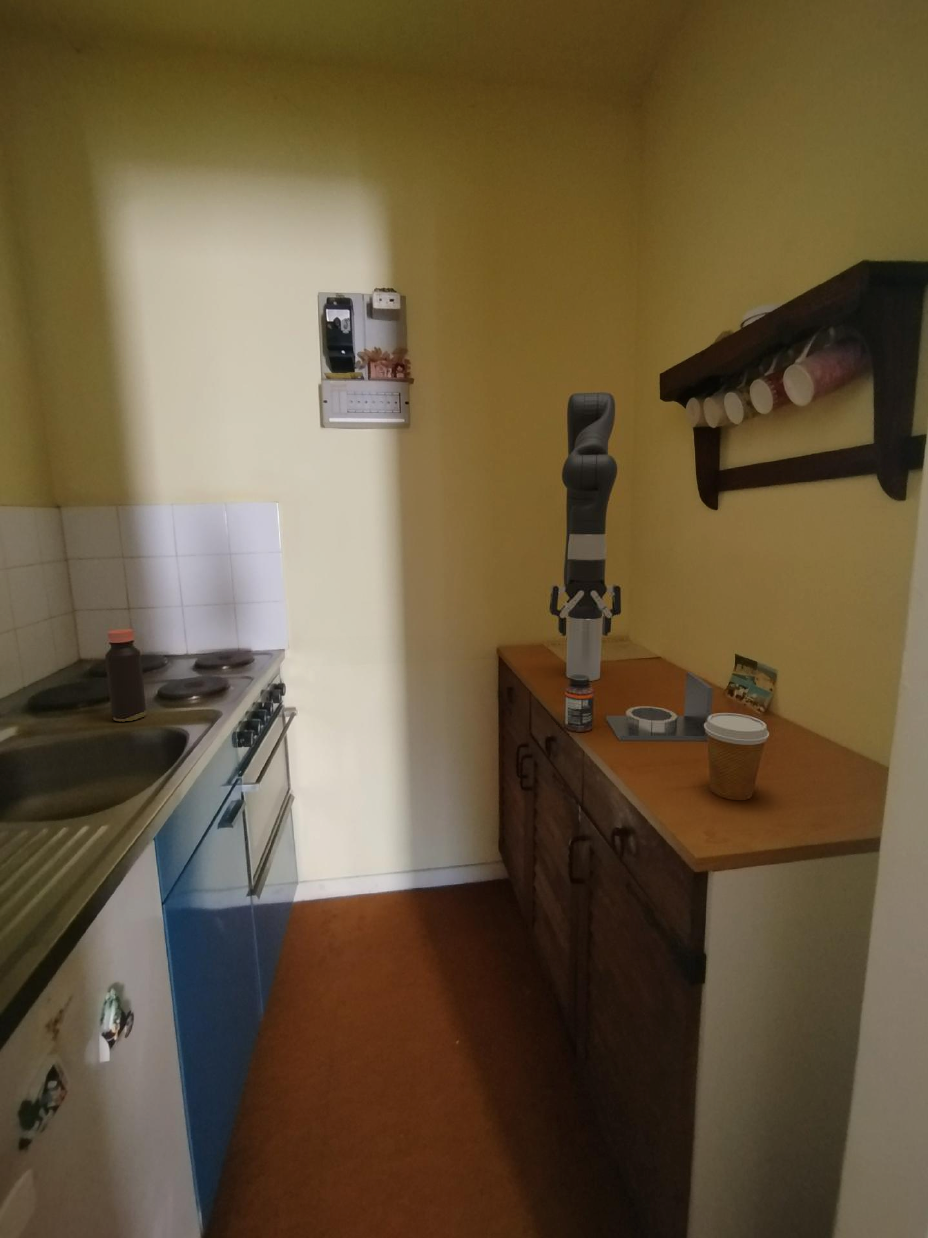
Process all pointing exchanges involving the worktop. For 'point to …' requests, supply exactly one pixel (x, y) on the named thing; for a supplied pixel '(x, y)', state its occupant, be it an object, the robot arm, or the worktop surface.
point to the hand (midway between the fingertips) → (584, 635)
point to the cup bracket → (668, 717)
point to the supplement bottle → (579, 704)
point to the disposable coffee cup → (734, 753)
